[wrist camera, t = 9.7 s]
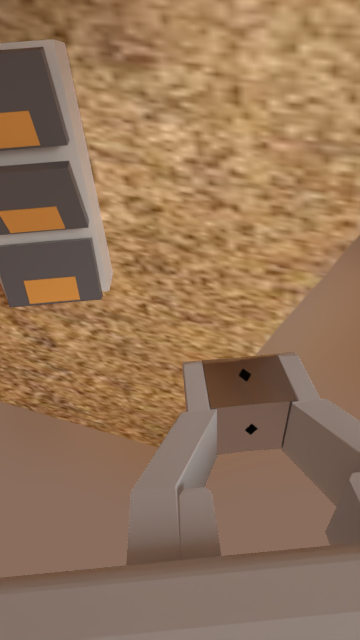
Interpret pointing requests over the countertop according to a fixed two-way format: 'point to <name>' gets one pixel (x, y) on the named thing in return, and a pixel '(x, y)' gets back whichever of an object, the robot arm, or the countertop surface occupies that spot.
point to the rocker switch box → (71, 153)
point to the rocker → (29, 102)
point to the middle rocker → (40, 198)
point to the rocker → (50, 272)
